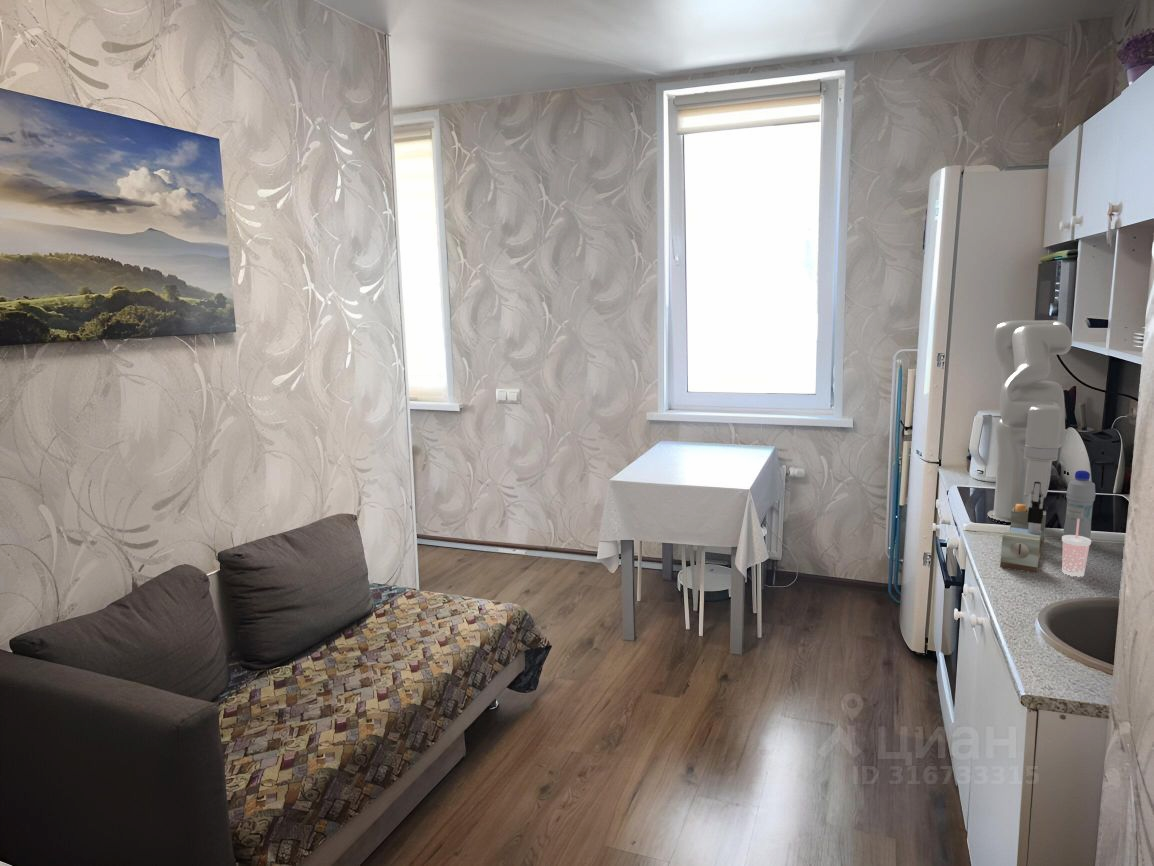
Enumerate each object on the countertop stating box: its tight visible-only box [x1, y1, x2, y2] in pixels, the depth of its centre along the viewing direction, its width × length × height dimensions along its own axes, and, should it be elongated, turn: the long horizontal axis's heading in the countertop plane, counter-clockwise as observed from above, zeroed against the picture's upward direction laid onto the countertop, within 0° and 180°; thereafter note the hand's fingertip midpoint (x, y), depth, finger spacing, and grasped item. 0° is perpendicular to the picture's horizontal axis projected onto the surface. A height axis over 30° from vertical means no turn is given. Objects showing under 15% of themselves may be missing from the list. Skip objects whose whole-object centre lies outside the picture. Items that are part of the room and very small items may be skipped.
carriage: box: [1009, 503, 1044, 539], centre depth 206 cm, size 5×7×10 cm
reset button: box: [1015, 504, 1027, 512], centre depth 214 cm, size 3×3×4 cm
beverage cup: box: [1061, 519, 1092, 578], centre depth 189 cm, size 6×6×14 cm
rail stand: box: [999, 508, 1047, 574], centre depth 204 cm, size 28×8×8 cm, turn 146°
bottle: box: [1063, 470, 1097, 539], centre depth 211 cm, size 7×7×20 cm
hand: (1035, 519), depth 205 cm, fingers open, 3 cm apart
